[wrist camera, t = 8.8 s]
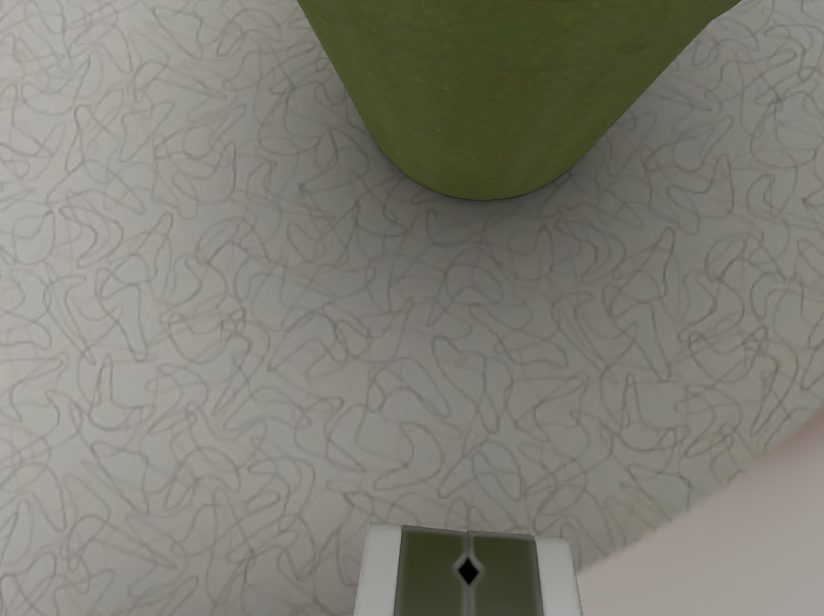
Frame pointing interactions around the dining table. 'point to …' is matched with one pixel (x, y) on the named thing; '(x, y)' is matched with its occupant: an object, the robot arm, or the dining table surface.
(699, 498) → the dining table surface
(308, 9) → the plant pot
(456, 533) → the robot arm
